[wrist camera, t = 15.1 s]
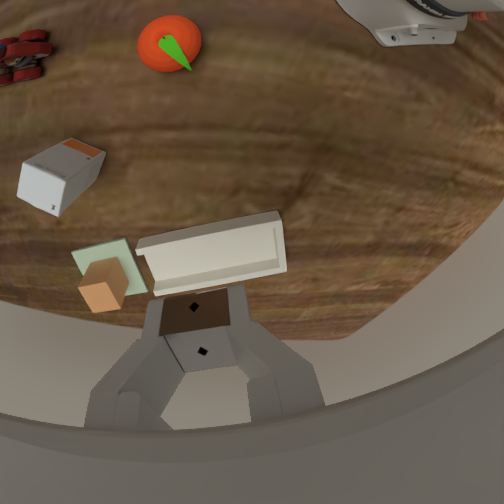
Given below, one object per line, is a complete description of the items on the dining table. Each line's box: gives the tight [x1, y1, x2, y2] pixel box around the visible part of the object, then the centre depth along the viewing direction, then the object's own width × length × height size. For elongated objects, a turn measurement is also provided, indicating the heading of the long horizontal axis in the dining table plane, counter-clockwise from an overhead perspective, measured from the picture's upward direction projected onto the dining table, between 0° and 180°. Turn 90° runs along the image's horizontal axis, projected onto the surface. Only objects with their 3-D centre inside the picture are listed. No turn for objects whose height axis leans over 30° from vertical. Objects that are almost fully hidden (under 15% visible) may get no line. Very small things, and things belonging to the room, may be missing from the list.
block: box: [78, 257, 129, 313], centre depth 38 cm, size 5×5×6 cm
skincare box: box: [17, 138, 106, 217], centre depth 27 cm, size 6×4×12 cm
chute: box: [135, 210, 287, 296], centre depth 41 cm, size 20×8×3 cm, turn 99°
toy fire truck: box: [0, 29, 52, 87], centre depth 17 cm, size 7×12×10 cm, turn 80°
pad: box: [71, 237, 148, 296], centre depth 41 cm, size 10×10×1 cm
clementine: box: [137, 15, 202, 72], centre depth 23 cm, size 8×7×7 cm
